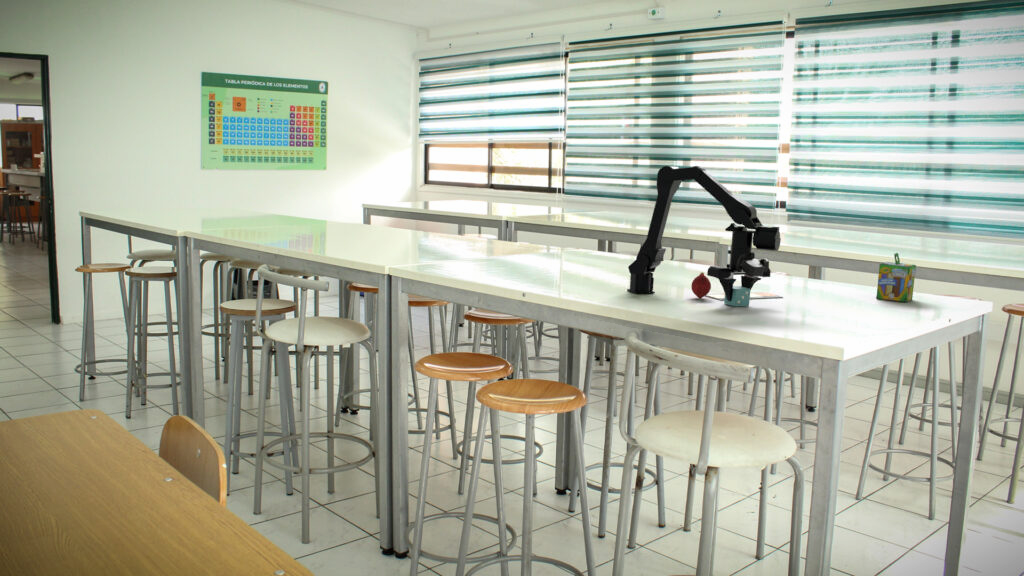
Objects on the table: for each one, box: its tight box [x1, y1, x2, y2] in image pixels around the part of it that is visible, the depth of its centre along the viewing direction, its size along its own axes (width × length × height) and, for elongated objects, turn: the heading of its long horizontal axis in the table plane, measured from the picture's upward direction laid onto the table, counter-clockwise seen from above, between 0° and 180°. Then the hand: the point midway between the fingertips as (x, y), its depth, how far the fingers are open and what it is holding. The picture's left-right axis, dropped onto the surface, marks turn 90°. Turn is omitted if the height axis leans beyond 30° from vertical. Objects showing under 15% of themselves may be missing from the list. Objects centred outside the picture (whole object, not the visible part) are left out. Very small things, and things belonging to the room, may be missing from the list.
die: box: [723, 285, 752, 307], centre depth 231 cm, size 5×5×5 cm
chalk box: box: [875, 252, 917, 303], centre depth 252 cm, size 9×9×15 cm
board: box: [704, 291, 784, 301], centre depth 247 cm, size 24×9×1 cm, turn 113°
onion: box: [691, 271, 712, 299], centre depth 240 cm, size 6×6×8 cm
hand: (736, 300), depth 231 cm, fingers closed on die, 5 cm apart
